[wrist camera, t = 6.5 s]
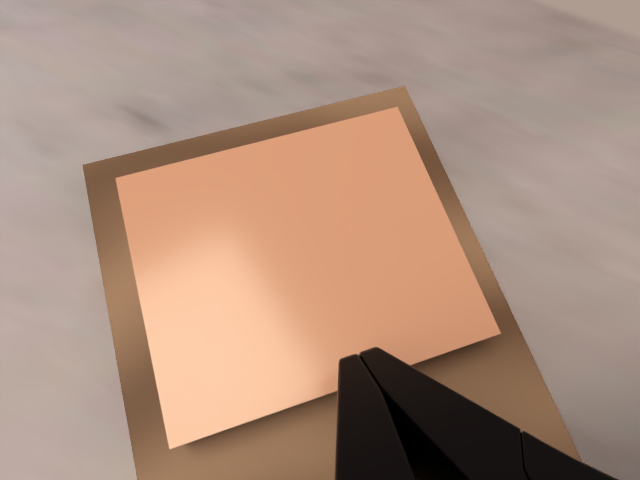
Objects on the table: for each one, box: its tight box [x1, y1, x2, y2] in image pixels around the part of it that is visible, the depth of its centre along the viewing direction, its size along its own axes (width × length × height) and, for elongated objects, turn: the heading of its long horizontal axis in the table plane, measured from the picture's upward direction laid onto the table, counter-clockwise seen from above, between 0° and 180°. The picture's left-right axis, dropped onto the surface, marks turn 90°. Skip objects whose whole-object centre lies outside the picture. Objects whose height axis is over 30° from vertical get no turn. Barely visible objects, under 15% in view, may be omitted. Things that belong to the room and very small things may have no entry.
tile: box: [115, 107, 501, 449], centre depth 15 cm, size 2×10×8 cm
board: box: [83, 86, 582, 480], centre depth 15 cm, size 19×13×2 cm
